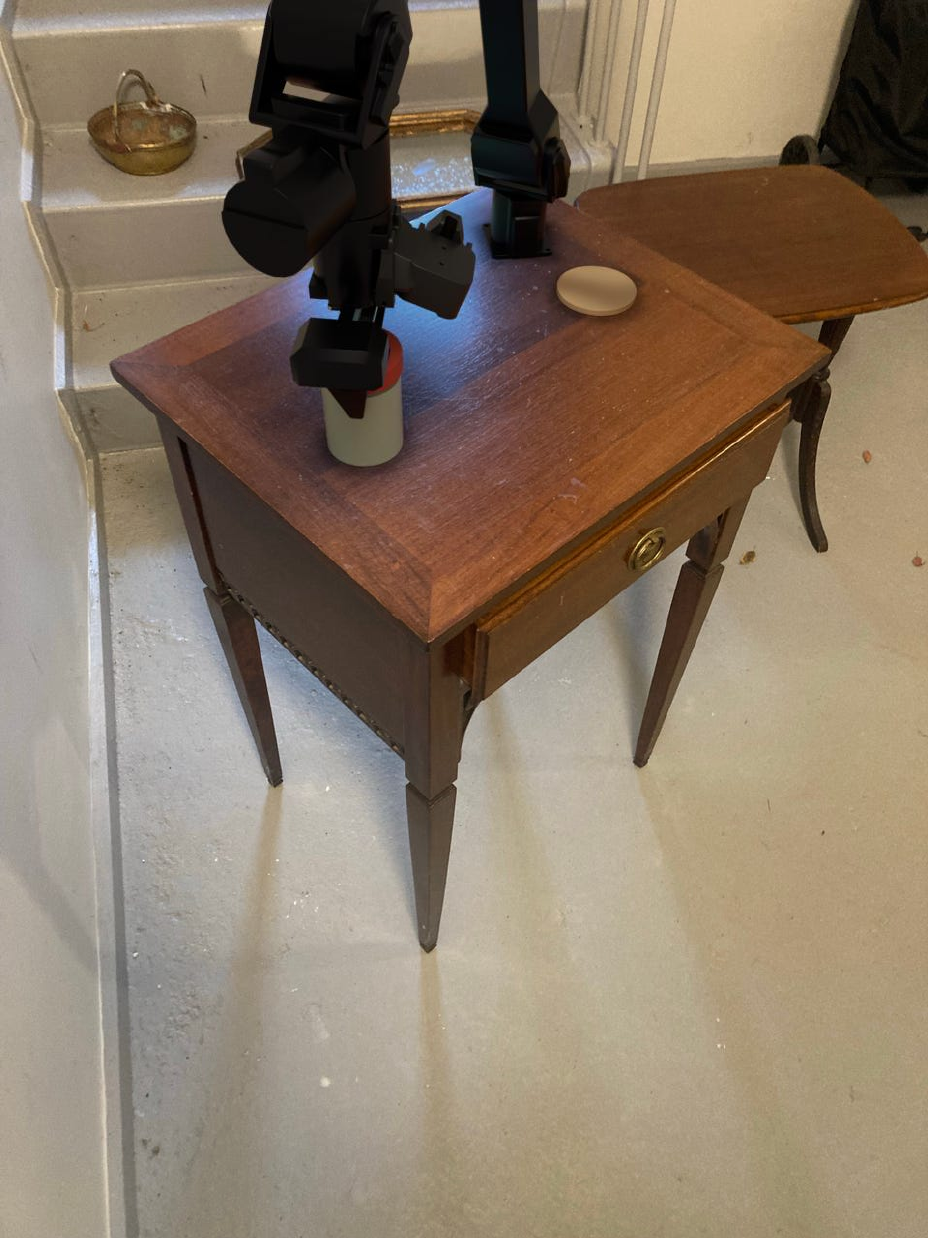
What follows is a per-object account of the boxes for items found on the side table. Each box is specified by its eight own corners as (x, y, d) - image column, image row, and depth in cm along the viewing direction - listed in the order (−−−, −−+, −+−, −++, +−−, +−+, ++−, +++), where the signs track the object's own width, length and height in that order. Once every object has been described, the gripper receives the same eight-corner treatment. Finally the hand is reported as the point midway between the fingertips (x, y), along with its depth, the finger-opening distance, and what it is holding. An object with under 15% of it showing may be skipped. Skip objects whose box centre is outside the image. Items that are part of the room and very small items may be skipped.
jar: (324, 418, 80) (314, 335, 73) (398, 412, 81) (395, 329, 74) (330, 470, 76) (320, 387, 70) (407, 462, 77) (405, 380, 70)
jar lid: (383, 404, 70) (382, 387, 69) (301, 384, 71) (298, 366, 70) (415, 352, 74) (415, 334, 73) (337, 334, 75) (335, 316, 74)
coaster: (548, 273, 95) (549, 267, 95) (623, 268, 96) (624, 263, 96) (566, 318, 90) (566, 313, 90) (645, 313, 91) (646, 307, 91)
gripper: (457, 286, 56) (453, 477, 68) (479, 141, 67) (472, 327, 80) (274, 274, 56) (303, 466, 69) (327, 131, 68) (343, 318, 80)
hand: (363, 389), depth 74 cm, fingers closed on jar lid, 6 cm apart
